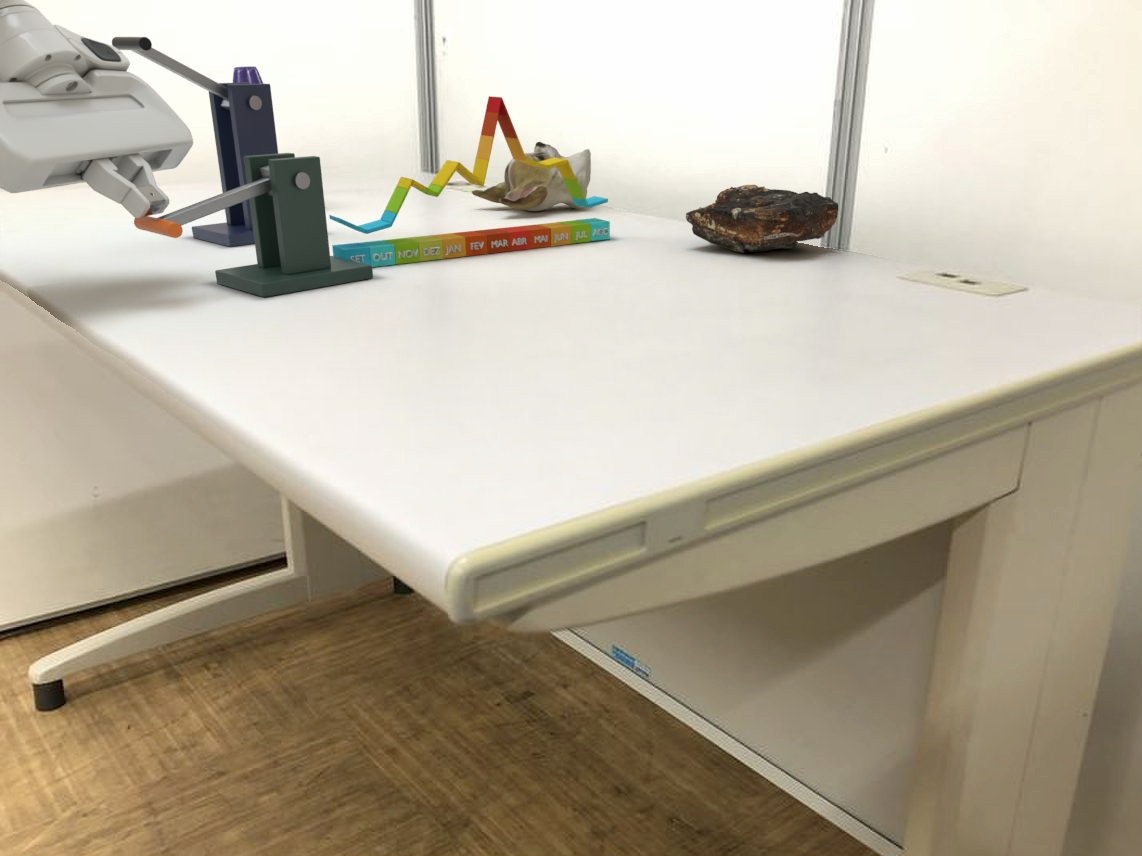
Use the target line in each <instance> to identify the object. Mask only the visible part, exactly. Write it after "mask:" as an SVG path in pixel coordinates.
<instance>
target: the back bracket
mask: <svg viewBox="0 0 1142 856" xmlns="http://www.w3.org/2000/svg"><path fill="white" fill-rule="evenodd" d="M218 83H219V84H221V85H223V86H224V87H226V88H227V91H228V98H229V106H230V111H229V110H227V109H226V108H224V107H222V106H221V104H222V101H223V98H221V97H219V96H217V95H215V94H213V93H211V92H209V91H208V97H209V98H208V99H209V104H210V112H211V119H212V126H213V133H214V140H215V149H216V156H217V162H218V163H217V164H218V169H219V176H220V185H221V190H222V191H221V193H224V192H227V191H230V190H232V189H235V188H238V187H240V186H243V185H246V184H247V179H246V171H245V164H244V156H251V155H265V154H278V153H279V147H278V139H277V138H278V137H277V131H276V123H275V113H274V105H273V97H272V88H271V87H272V86H271V84H270V83H263V84H250V83H233V82H218ZM224 212H225V219H226V221H225V222H219V223H210V224H201V225H194V226H191V231H192V232H191V233H192V237H193V239H197V240H201V241H206V242H209V243H214V244H218V245H222V246H226V247H229V248H231V247H238V246H245V245H253V244H254V245H255V240H254V233H253V225H252V217H251V210H250V202H249V200H246V201H244V202H241V203H238V204H236V205H233V206H231V207H228V208H226V209H224Z"/></svg>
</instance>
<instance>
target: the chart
mask: <svg viewBox="0 0 1142 856" xmlns="http://www.w3.org/2000/svg"><path fill="white" fill-rule="evenodd" d="M487 98H488V99H487V103H486V106H485V107H486V108H485V113H484V117H483V122H482V127H481V131H480V137H479V141H478V146H477V150H476V156H475V159H474V165H473V170H472V172H471V171H470V170H469V169H468V168H467V167H465V165H463V164H462V163H461V162H459V161H456V160H455V161H454V160H449V159H446V160H445V162H444V163H443V165H442V166H441V167H440V169H439V170H438V172H437V173H436V175H435V176H434V178H433V179H432V181H431V182H430V183H429V185H428V186H425V185H424V184H422V183H420V182H418V181H417V180H415V179H413V178H408V177H404V176H400V178H399V180H398V182H397V184H396V186H395V188H394V190H393V192H392V194H391V196H390V198H389V200H388V202H387V205H386V207H385V208H384V211H383V212H382V214H381V217H380V218H379V219H377V220H374V221H370V222H367V223H363V224H359V225H356V224H353V223H351V222H349V221H346V220H345V219H342V218H340V217H337V216H334V215H331V214H329V215H328V216H329V220H332V221H333V222H336V223H338V224H341V225H343V226H346V227H347V228H349V229H352V230H354V231H357V232H360V233H363V234H366V235H368V234H372V233H375V232H379V231H382V230H387V229H390V228H391V227H392V226H393V225H394V223H395V221H396V219H397V216H398V215H399V213H400V210H401V208H402V207H403V205H404V203H405V200H406V198H407V196H408V194H409V192H410V190H411V188H413V189H415V190H417V191H419V192H421V193H422V194H425V195H427V196H431V197H434V198H438V197H440V194H441V193H442V192H443V190H444V189H445V187H446V186H447V184H448V183H449V182H450V180H451V179H452V178H453V176H454V174H455V173H458V174H459V175H460V176H461V177H462V178H463V179H464V180H466V181H467V182H468V184H471V185H475V186H479V187H484V186H485V182H486V179H487V178H486V177H487V172H488V167H489V164H490V158H491V153H492V148H493V144H494V139H495V135H496V129H497V125H499V127H500V130H501V132H502V135H503V138H504V139H505V142H506V145H507V147H508V149H509V152H510V155H511V156H512V158H513V159H514V160H517V161H520V162H522V163H525V164H528V165H531V166H534V167H540V168H545V169H549V168H552V167H556V166H557V168H558V170H559V172H560V174H561V176H562V178H563V180H564V182H565V185H566V187H567V189H568V191H569V193H570V195H571V197H572V200H573V202H574V204H575V205H577V206H581V208H587V209H591V208H594V207H597V206H601V205H603V204H607V203H608V202H609V198H605V197H601V196H596V195H594V196H589V197H586V198H585V196H584V194H583V192H582V190H581V188H580V185H579V183H578V181H577V179H576V177H575V175H574V172H573V170H572V168H571V166H570V164H569V162H568V160H567V159H561V158H551V159H547V160H544V161H540V162H536V161H534V160H531V159H528V158H526V156H525V154H524V153H525V151H524V149H523V146H522V144H521V142H520V139H519V137H518V134H517V132H516V129H515V127H514V124H513V122H512V118H511V117H510V116H511V115H510V114H509V112H508V109H507V107H506V104H505V101H504V99H503V97H502V96H488V97H487ZM610 239H611V222H610V220H605V219H601V218H597V217H591V218H583V219H575V220H565V221H556V222H549V223H547V222H546V223H537V224H527V225H518V226H508V227H498V228H488V229H478V230H468V231H459V232H449V233H439V234H429V235H421V236H419V235H418V236H411V237H409V236H408V237H401V238H400V237H399V238H389V239H382V240H370V241H361V242H352V243H341V244H332V247H331V248H332V256H333V257H338V258H342V259H347V260H351V261H355V262H360V263H364V264H368V265H372V268H376V267H386V266H393V265H403V264H410V263H419V262H427V261H436V260H437V261H438V260H445V259H454V258H461V257H471V256H479V255H487V254H496V253H505V252H513V251H514V252H515V251H523V250H532V249H539V248H548V247H556V246H565V245H572V244H580V243H587V242H595V241H605V240H610Z"/></svg>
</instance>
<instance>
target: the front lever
mask: <svg viewBox="0 0 1142 856" xmlns="http://www.w3.org/2000/svg"><path fill="white" fill-rule="evenodd" d="M260 172H261V174H262V177H263V178H262V179H259V180H256V181H254V182H251V183H248V184H246V185H243V186H240V187H238V188H235V189H232V190H230V191H227V192H224V193H223V192H221V193H220V194H216V195H214V196H212V197H208V198H206V199H204V200H200V201H198V202H195V203H193V204H190V205H187V206H186V207H182V208H180V209H176V210H175V211H171V212H168V213H166V214H164V215H161V216H157V217H155V216H151V215H150V216H145V217H140V218H135V217H134V219H133V224H134V227H135V228H136V229H137V230H141V231H145V232H149V233H153V234H158V235H160V236H165V237H168V238H173V239H178V238H180V237H181V236H182V235H183V227H182V226H184V225H187V224H189V223H192V222H195V221H197V220H200V219H202V218H204V217H208V216H210V215H212V214H215V213H217V212H220V211H223V210H225V209H226V208H228V207H231V206H233V205H236V204H238V203H241V202H244V201H246V200H249V199H251V198H254V197H257V196H259V195H262V194H264V193H267V192H268V195H271V196H272V188H271V179H270V171H269V165H267V166H265V167H262V168H260Z"/></svg>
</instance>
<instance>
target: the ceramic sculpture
mask: <svg viewBox="0 0 1142 856" xmlns="http://www.w3.org/2000/svg"><path fill="white" fill-rule="evenodd" d="M524 154H525V156H526V158H528V159H531V160H534V161H536V162H540V161H544V160H547V159H551V158H561V159H567V160H568V162H569V164H570V166H571V168H572V170H573V172H574V175H575V177H576V179H577V181H578V183H579V185H580V188H581V190H582V192H583V194H584V196H585V198H586V199H587V195H588V188H589V185H590V182H591V175H592V173H591V172H592V159H591V157H592V153H591V150H590V148H586V149H584V150H582V151H580V152H576V153H573V154H571V155H569V156H563V155H561V154H560V153H559V151H558V149H557V148H556V147H554V146H552V145H550V144H547V143H544V142H542V141H537V142H536V143H535V146H534V148H533V152H524ZM503 180H504V181H503V182H499V183H498V184H496V185H492V186H490V187H488V188H486V189H484V190H481V189H474V190H471V194H472V195H473V196H474V197H478V198H480V199H483V200H486V201H488V202H491V203H496V204H501V205H504V206H506V207H509V208H512V209H514V210H520V211H529V212H541V211H546V210H549V209H550V208H552V207H554V206H556V205H560V204H564V205H566V206H568V207H569V208H572V209H577V208H580V207H581V208H582V206H577V205H575V204H574V202H573V200H572V197H571V195H570V193H569V191H568V189H567V187H566V185H565V182H564V180H563V178H562V176H561V174H560V172H559V170H558V168H557V166H556V167H552V168H549V169H545V168H540V167H534V166H531V165H528V164H525V163H522V162H520V161H517V160H514V159H513V157H512V158H511V159H510V161H509V162H507V165H506V167H505V170H504V177H503Z"/></svg>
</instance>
